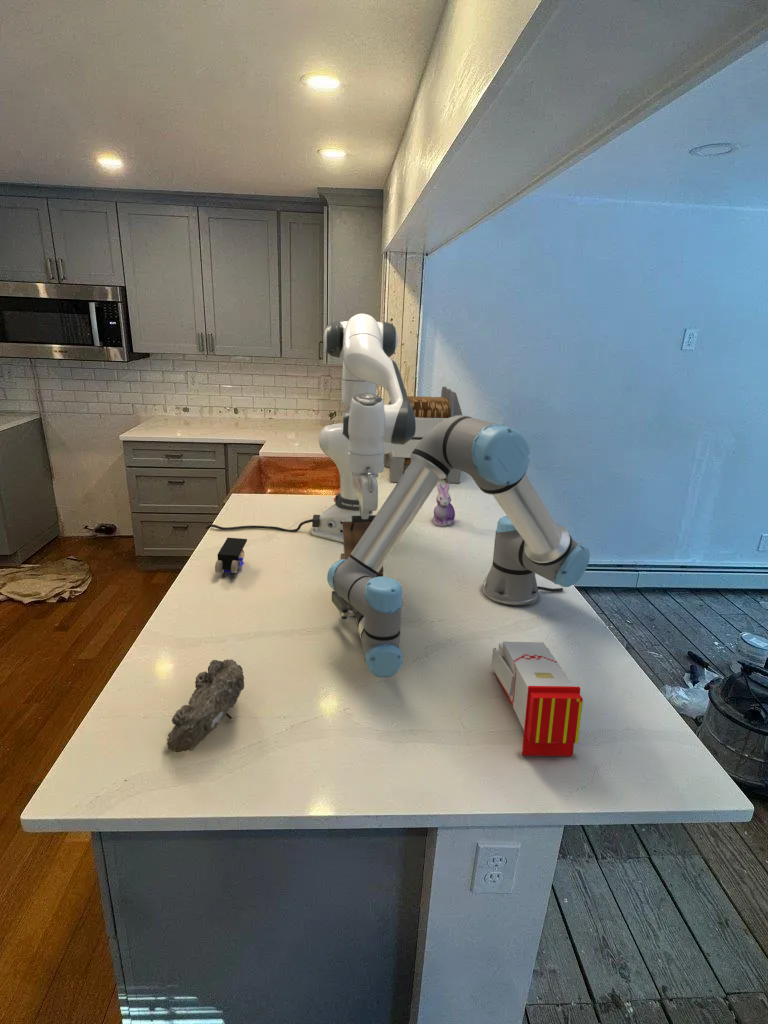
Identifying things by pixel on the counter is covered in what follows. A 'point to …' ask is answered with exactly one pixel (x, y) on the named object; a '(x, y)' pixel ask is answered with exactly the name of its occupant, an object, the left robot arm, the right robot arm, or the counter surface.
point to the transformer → (424, 430)
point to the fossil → (206, 705)
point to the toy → (539, 697)
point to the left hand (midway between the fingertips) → (363, 516)
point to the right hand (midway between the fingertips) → (361, 580)
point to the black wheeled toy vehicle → (230, 556)
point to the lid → (355, 533)
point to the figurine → (443, 507)
